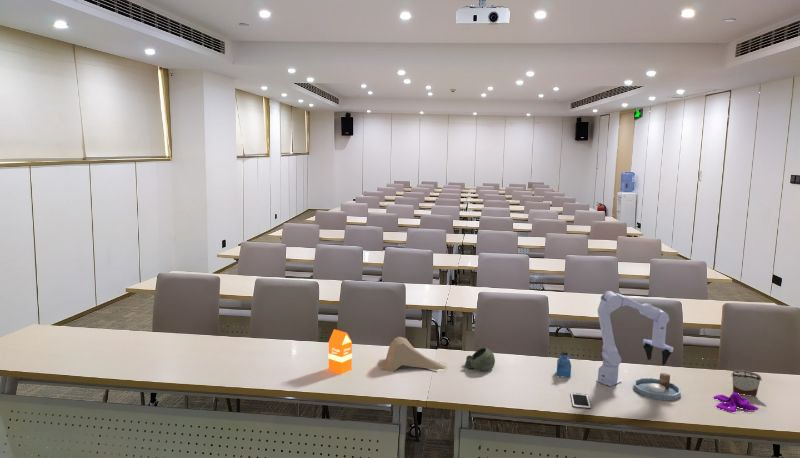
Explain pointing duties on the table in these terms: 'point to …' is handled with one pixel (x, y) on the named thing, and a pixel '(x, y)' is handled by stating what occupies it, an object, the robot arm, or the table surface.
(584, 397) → the cell phone
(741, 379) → the food container
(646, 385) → the round tray
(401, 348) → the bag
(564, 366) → the perfume bottle
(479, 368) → the green round pot
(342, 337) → the orange juice
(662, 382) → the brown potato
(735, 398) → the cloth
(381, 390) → the table surface
